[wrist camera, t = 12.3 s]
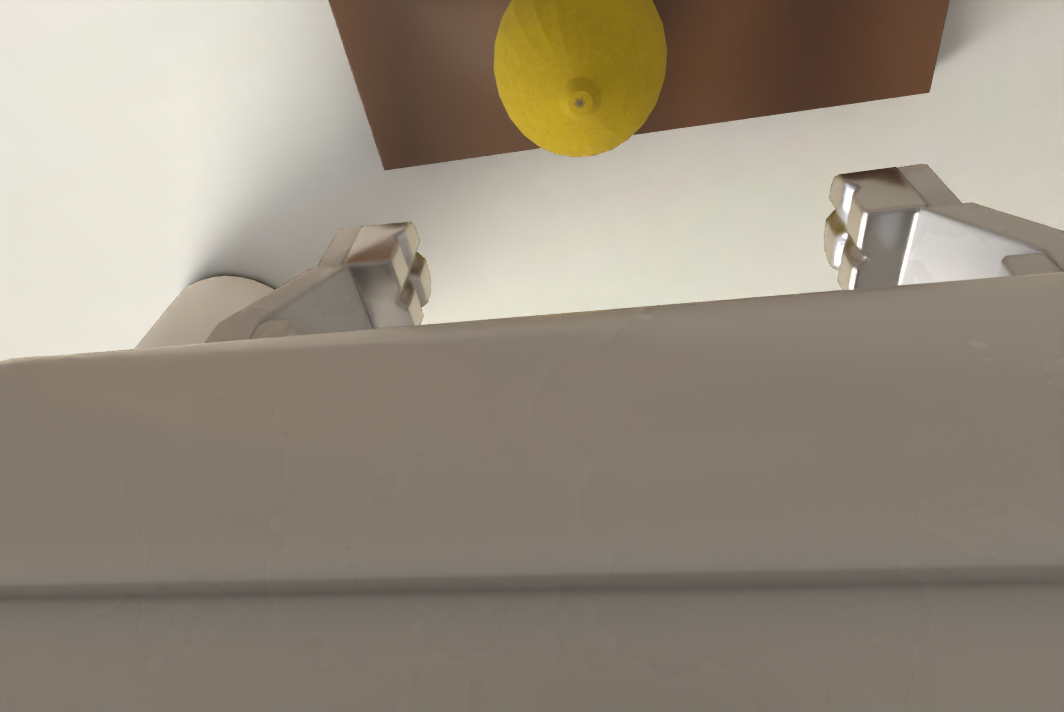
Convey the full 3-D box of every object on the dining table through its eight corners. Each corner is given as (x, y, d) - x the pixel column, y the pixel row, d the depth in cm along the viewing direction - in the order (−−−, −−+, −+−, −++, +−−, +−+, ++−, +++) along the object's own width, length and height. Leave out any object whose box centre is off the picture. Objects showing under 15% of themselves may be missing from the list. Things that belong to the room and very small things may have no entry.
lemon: (637, -83, 22) (662, -40, 16) (665, 81, 25) (695, 169, 19) (483, -30, 23) (450, 30, 17) (529, 120, 26) (515, 215, 20)
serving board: (973, -214, 20) (996, -215, 19) (914, 80, 26) (929, 93, 25) (316, -80, 24) (303, -74, 22) (391, 156, 29) (383, 170, 28)
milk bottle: (154, 328, 37) (-147, 703, 21) (215, 243, 33) (-98, 625, 17) (276, 399, 40) (91, 770, 24) (345, 329, 36) (176, 716, 21)
